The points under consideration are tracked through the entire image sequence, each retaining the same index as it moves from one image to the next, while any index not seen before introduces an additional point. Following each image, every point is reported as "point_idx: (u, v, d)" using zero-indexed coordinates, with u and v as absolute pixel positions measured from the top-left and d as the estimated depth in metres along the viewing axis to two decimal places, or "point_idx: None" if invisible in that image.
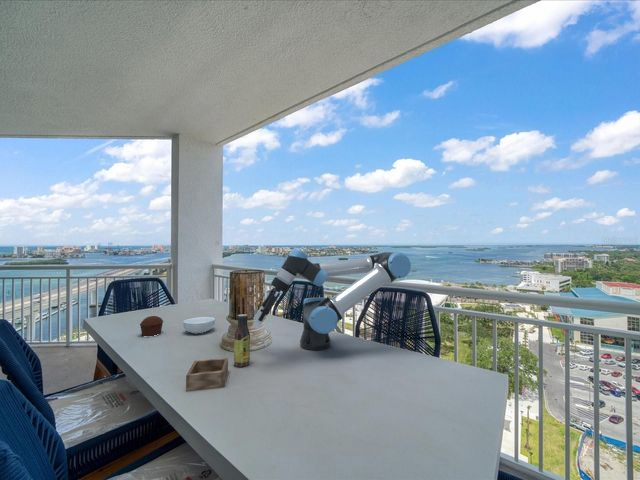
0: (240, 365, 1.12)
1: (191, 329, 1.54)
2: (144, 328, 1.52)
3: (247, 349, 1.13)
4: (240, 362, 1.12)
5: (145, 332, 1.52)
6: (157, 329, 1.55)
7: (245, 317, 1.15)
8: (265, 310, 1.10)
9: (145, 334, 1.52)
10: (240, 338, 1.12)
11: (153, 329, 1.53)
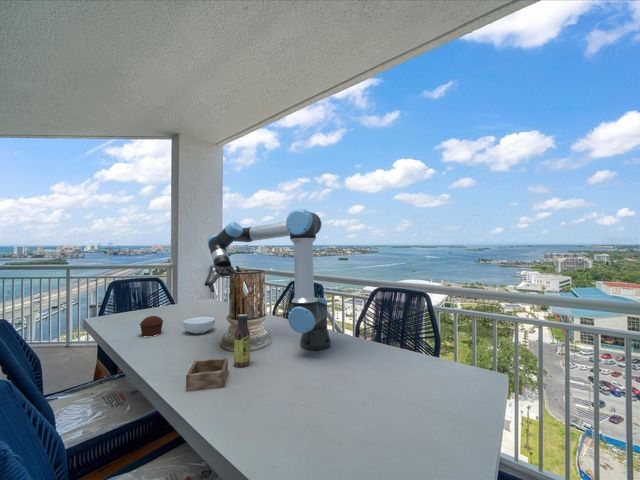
0: (240, 365, 1.12)
1: (191, 329, 1.54)
2: (144, 328, 1.52)
3: (247, 349, 1.13)
4: (240, 362, 1.12)
5: (145, 332, 1.52)
6: (157, 329, 1.55)
7: (245, 317, 1.15)
8: None
9: (145, 334, 1.52)
10: (240, 338, 1.12)
11: (153, 329, 1.53)
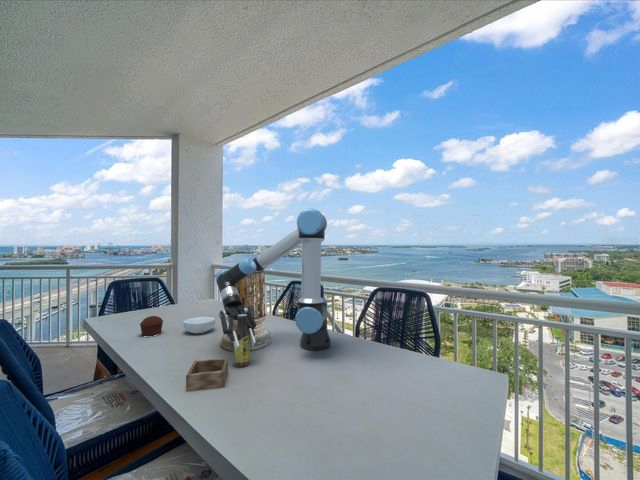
0: (240, 365, 1.12)
1: (191, 329, 1.54)
2: (144, 328, 1.52)
3: (247, 349, 1.13)
4: (240, 362, 1.12)
5: (145, 332, 1.52)
6: (157, 329, 1.55)
7: (245, 317, 1.15)
8: (223, 331, 1.13)
9: (145, 334, 1.52)
10: (240, 338, 1.12)
11: (153, 329, 1.53)
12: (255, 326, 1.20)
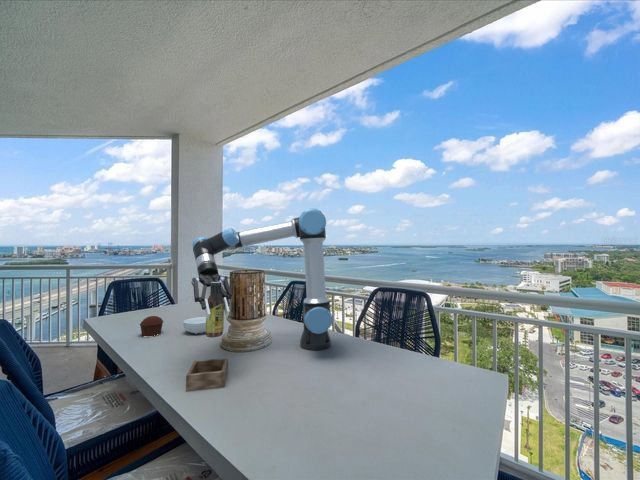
0: (212, 335, 1.02)
1: (191, 329, 1.54)
2: (144, 328, 1.52)
3: (220, 319, 1.04)
4: (212, 332, 1.02)
5: (145, 332, 1.52)
6: (157, 329, 1.55)
7: (218, 284, 1.05)
8: (195, 299, 1.04)
9: (145, 334, 1.52)
10: (212, 306, 1.03)
11: (153, 329, 1.53)
12: (231, 296, 1.10)
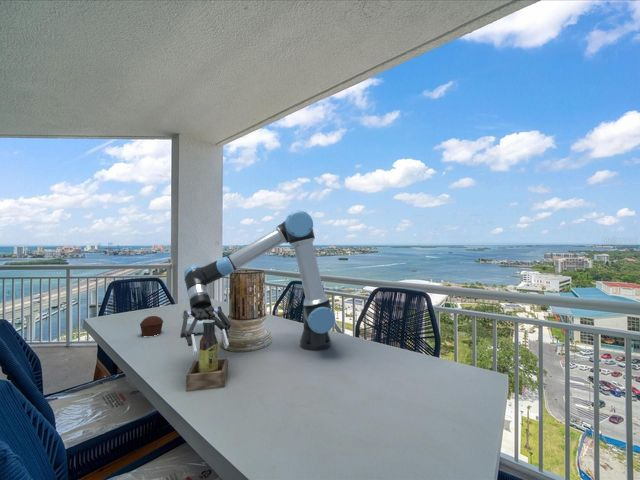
0: None
1: None
2: (144, 328, 1.52)
3: (214, 360, 0.99)
4: None
5: (145, 332, 1.52)
6: (157, 329, 1.55)
7: (212, 324, 1.00)
8: None
9: (145, 334, 1.52)
10: (205, 348, 0.98)
11: (153, 329, 1.53)
12: (230, 326, 1.08)
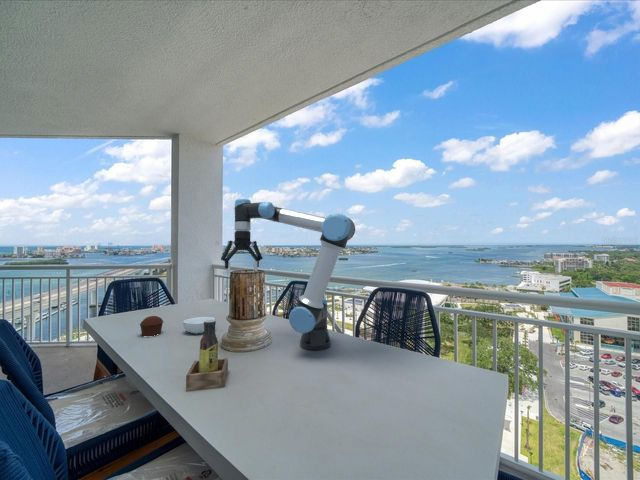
0: None
1: (191, 329, 1.54)
2: (144, 328, 1.52)
3: (214, 360, 0.99)
4: None
5: (145, 332, 1.52)
6: (157, 329, 1.55)
7: (212, 323, 1.01)
8: (221, 258, 1.31)
9: (145, 334, 1.52)
10: (206, 347, 0.98)
11: (153, 329, 1.53)
12: None
